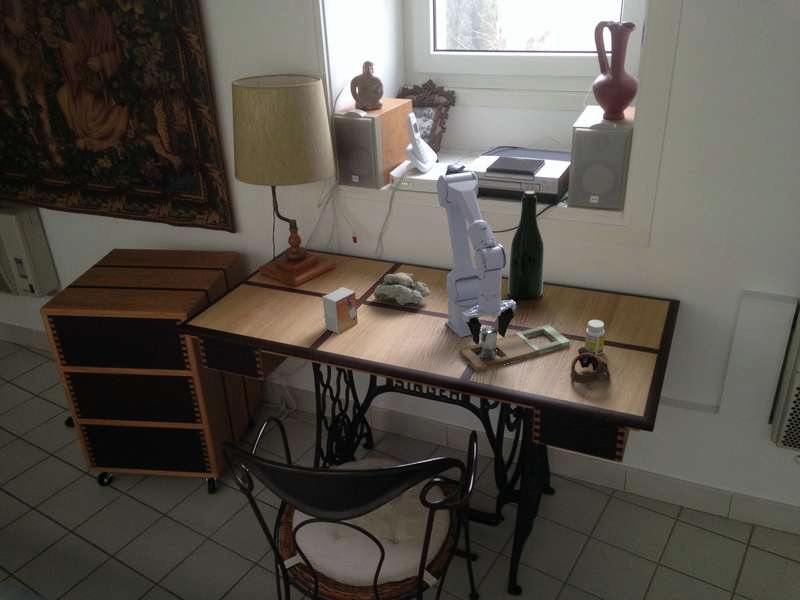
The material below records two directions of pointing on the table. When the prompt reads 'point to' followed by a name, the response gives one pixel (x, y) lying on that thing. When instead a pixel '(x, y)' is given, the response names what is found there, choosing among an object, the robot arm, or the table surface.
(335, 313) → the small box
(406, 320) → the table surface
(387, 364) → the table surface
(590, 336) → the supplement bottle
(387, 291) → the mineral
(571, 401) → the table surface
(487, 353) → the peg
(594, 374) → the pottery mug
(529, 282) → the dark green wine bottle
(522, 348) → the board with square holes
